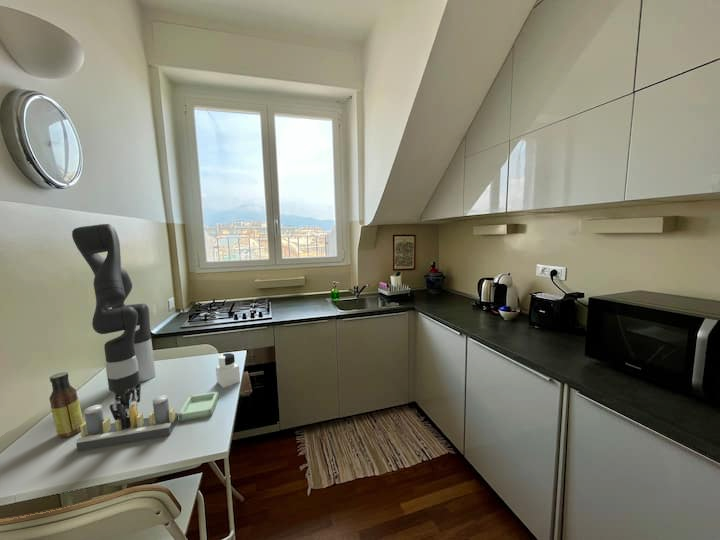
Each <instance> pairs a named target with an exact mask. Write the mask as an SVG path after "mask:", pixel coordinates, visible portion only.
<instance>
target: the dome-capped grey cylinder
mask: <svg viewBox="0 0 720 540" xmlns="http://www.w3.org/2000/svg"><path fill="white" fill-rule="evenodd" d="M83 412H84V419H85V422H86V427H87V433H88V436H92V435H99V434H102V433H103V426H102V423H103V422H104V421H105V419H104V411H103V405H102V404H95V405H92V406H89V407H87V408H85V409H84V410H83Z"/></svg>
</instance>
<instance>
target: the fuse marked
mask: <svg viewBox="0 0 720 540" xmlns="http://www.w3.org/2000/svg"><path fill="white" fill-rule="evenodd" d="M122 407H127V405H125V406H122ZM124 411H125V413H126V410H124ZM137 413H138V408H137V409H136V401H135V400H133V401H131V408H130V409H129V416H130V422H131V427H130V428H129V429H135V428H136V427H137V420H136V417H137ZM129 429H122V430H129Z"/></svg>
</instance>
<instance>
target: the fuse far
mask: <svg viewBox="0 0 720 540" xmlns="http://www.w3.org/2000/svg"><path fill="white" fill-rule="evenodd" d="M169 405H170V404H169V396H168V394H167V395H165V394H162V395H159V396H156V397H154V398H153V399H152V408H153V411H154V417H155V425H159V424H165V423H168V422H169V421H170V419H169V411H170V406H169Z"/></svg>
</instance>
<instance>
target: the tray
mask: <svg viewBox="0 0 720 540" xmlns="http://www.w3.org/2000/svg"><path fill="white" fill-rule="evenodd" d="M219 394H220V393H219V391H213V392H205V393H199V394H193V395H189V396H188V397H187V399H186V401H185V402H184V404H183V406H182V407H181V409H180V411H179V413H178V422H183V421H184V422H185V421H191V420H197V419H202V418H203V419H204V418H208V417H212V416H213V413H214V411H215V409H216V406H217V403H218V401H219V399H220V396H219Z"/></svg>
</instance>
